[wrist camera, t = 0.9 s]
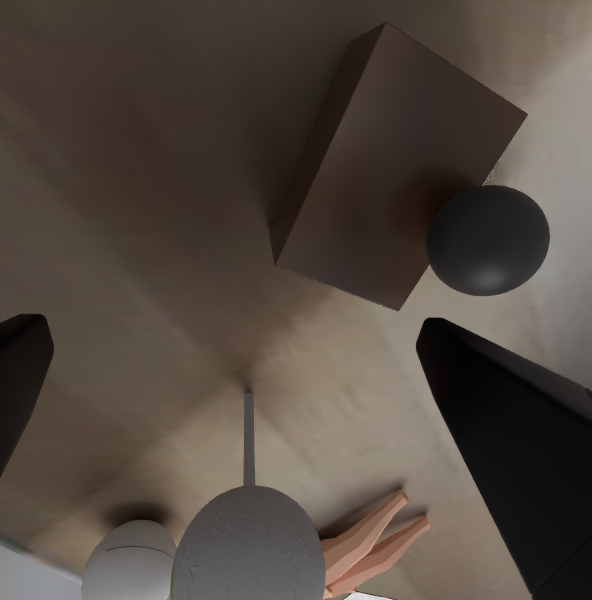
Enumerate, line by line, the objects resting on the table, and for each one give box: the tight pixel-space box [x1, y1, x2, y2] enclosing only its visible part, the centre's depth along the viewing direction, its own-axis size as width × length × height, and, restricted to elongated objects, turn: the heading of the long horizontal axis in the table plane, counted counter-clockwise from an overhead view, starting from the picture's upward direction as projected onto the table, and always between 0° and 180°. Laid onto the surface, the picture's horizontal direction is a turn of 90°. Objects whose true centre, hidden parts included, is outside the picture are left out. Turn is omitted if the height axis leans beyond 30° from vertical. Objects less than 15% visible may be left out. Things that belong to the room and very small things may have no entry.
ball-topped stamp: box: [426, 185, 550, 296], centre depth 17 cm, size 8×4×10 cm, turn 65°
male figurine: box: [320, 489, 431, 599], centre depth 37 cm, size 11×5×25 cm
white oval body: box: [82, 520, 177, 600], centre depth 30 cm, size 10×7×7 cm
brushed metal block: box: [269, 22, 528, 311], centre depth 18 cm, size 7×10×5 cm
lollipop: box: [170, 393, 326, 600], centre depth 20 cm, size 7×7×15 cm
